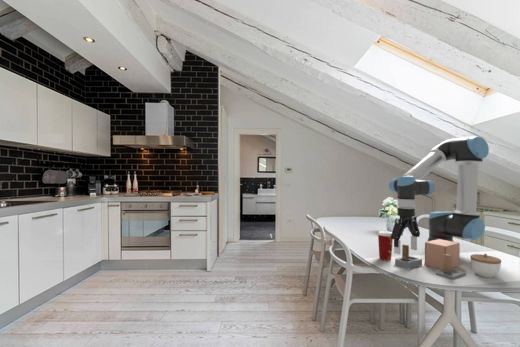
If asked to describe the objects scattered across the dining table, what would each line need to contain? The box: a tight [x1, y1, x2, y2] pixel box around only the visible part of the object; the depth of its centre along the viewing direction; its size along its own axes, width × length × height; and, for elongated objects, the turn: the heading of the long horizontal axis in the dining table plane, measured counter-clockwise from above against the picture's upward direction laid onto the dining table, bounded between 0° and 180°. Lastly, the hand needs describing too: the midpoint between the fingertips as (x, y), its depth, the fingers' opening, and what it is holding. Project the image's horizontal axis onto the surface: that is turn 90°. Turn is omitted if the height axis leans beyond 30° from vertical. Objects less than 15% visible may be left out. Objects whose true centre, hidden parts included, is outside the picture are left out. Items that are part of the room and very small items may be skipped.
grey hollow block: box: [394, 255, 423, 270], centre depth 138 cm, size 11×7×3 cm, turn 121°
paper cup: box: [377, 230, 394, 261], centre depth 148 cm, size 8×8×14 cm
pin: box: [401, 244, 410, 261], centre depth 137 cm, size 3×3×10 cm
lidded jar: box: [470, 253, 502, 279], centre depth 125 cm, size 11×11×9 cm
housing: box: [424, 239, 461, 270], centre depth 139 cm, size 13×9×11 cm
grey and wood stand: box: [435, 254, 466, 280], centre depth 125 cm, size 11×7×9 cm, turn 121°
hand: (405, 251), depth 137 cm, fingers open, 13 cm apart
